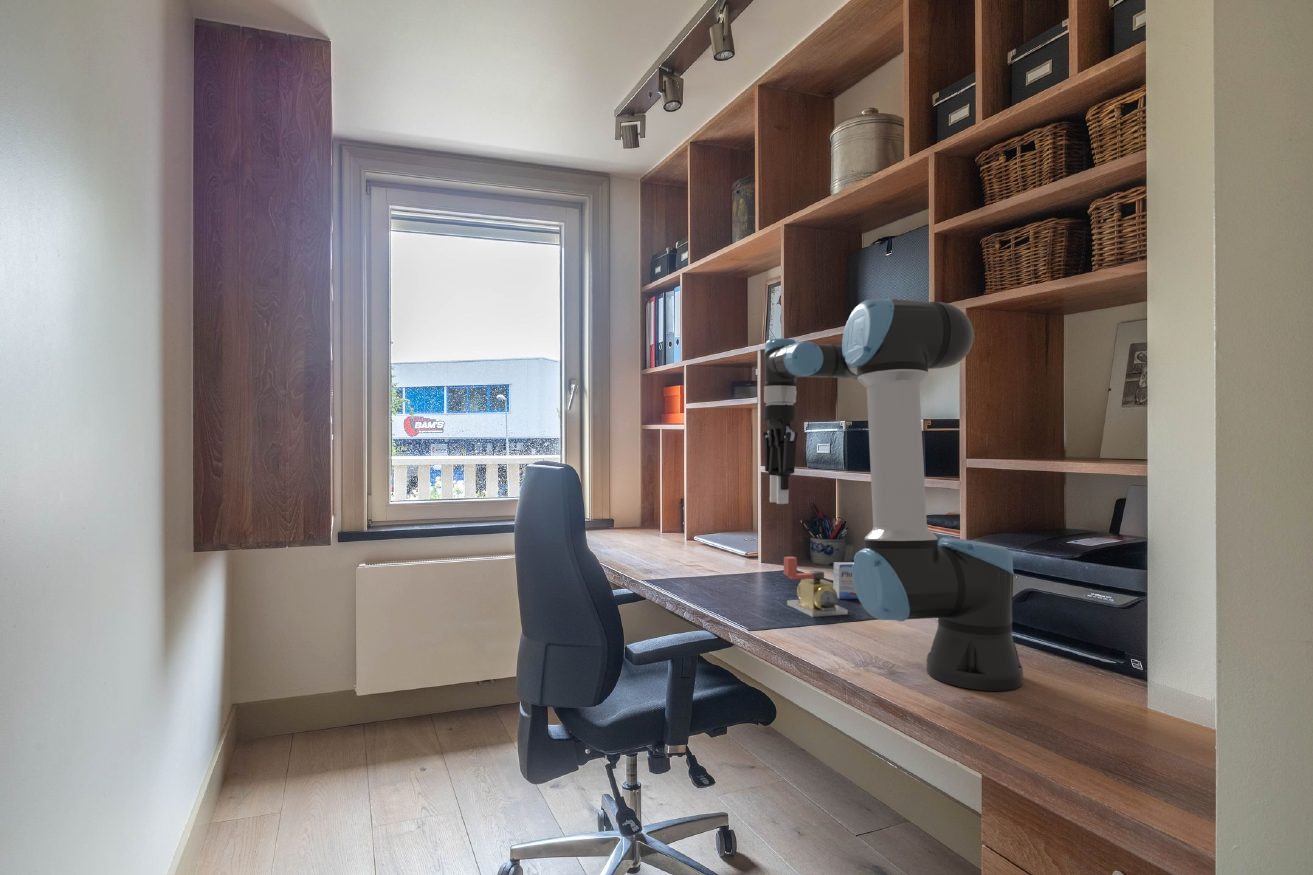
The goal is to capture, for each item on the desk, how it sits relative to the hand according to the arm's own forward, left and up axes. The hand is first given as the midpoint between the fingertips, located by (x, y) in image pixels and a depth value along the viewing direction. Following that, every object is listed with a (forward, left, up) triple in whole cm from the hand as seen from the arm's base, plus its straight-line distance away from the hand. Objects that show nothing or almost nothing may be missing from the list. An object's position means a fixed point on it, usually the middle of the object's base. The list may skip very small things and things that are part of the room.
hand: (778, 502), depth 175 cm
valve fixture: (-6, -7, -25) cm, 26 cm away
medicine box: (+3, -22, -25) cm, 33 cm away
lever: (-6, -4, -17) cm, 19 cm away
